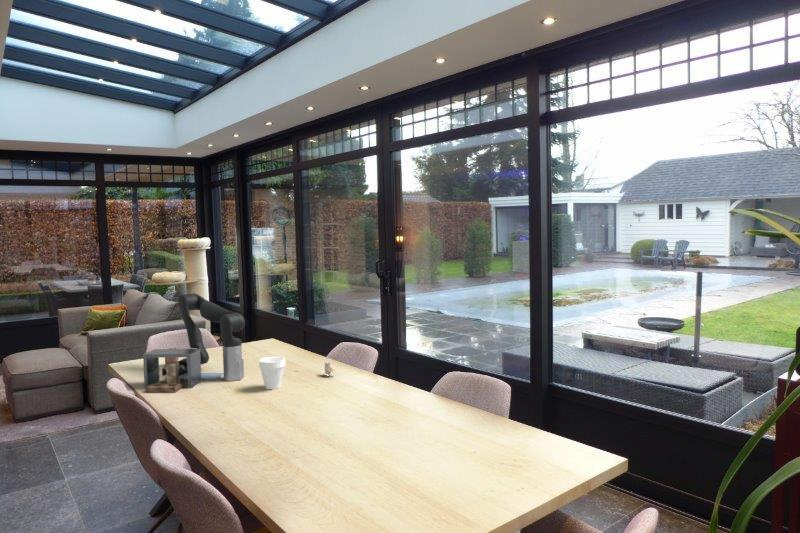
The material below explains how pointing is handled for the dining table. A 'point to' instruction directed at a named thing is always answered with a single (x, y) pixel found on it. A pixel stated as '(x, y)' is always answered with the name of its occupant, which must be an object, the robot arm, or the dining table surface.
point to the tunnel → (153, 356)
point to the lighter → (171, 358)
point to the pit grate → (163, 387)
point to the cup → (272, 371)
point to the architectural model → (328, 368)
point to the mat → (204, 376)
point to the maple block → (173, 372)
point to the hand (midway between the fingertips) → (171, 373)
